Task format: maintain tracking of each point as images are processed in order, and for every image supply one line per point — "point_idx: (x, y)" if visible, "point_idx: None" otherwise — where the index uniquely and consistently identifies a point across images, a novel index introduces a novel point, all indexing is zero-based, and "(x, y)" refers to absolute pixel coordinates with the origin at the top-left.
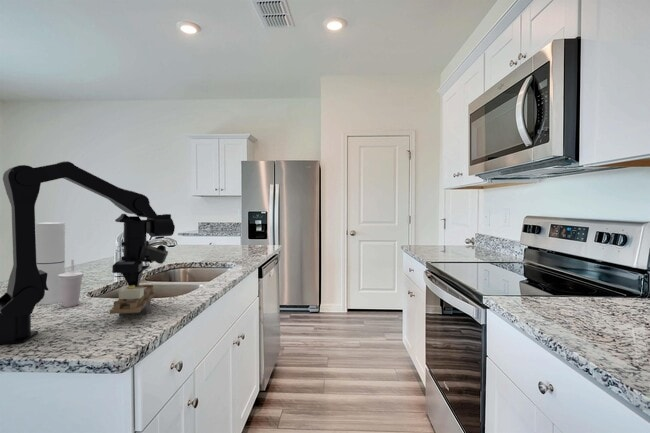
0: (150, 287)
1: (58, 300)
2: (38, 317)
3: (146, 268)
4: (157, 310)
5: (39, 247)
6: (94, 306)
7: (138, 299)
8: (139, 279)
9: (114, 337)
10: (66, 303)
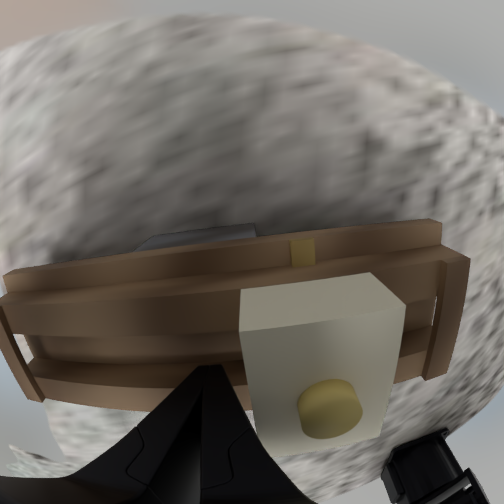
0: (16, 311)
1: None
2: None
3: (36, 502)
4: (161, 192)
5: None
6: None
7: (389, 273)
8: (176, 437)
9: (498, 246)
10: None
